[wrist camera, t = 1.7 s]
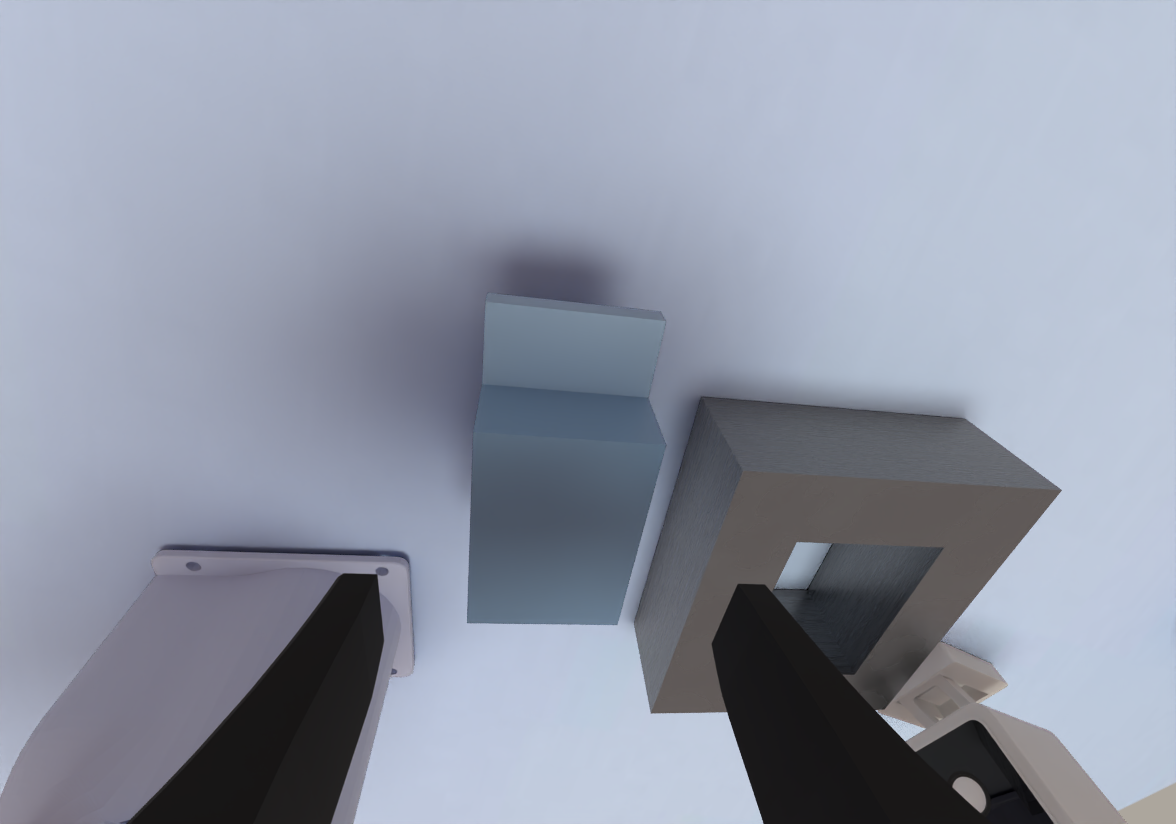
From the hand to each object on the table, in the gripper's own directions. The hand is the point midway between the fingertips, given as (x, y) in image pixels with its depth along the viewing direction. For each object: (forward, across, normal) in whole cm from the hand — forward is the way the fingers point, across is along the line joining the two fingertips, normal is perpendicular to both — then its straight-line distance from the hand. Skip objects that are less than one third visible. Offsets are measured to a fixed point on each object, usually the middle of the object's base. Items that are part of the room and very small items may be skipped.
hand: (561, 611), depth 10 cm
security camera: (+9, -24, +17) cm, 31 cm away
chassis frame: (+9, -11, +6) cm, 15 cm away
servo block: (+9, 0, 0) cm, 9 cm away
